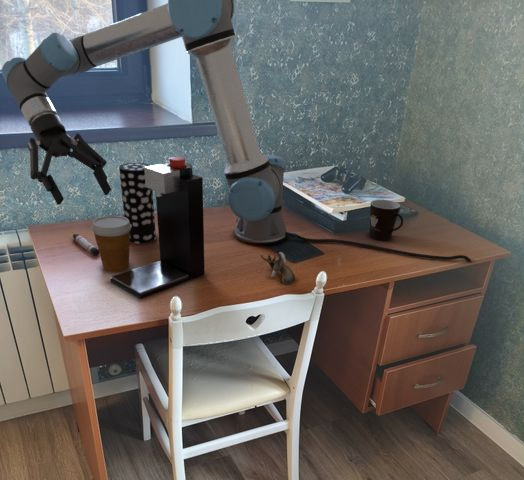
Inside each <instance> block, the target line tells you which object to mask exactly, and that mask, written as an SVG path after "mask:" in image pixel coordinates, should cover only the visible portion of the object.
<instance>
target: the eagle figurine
mask: <svg viewBox="0 0 524 480" xmlns="http://www.w3.org/2000/svg"><path fill="white" fill-rule="evenodd" d="M260 258H261V259H262V260H263V261H265V262H266V263H268V265H269V266H270V268H271V270H272V271H271V276H270V279H273V277H275V276H276V274H277V273H280V275H281V282H282V284H285V285H292V284H293V283H294V282H295V281H296V275H295V273H294V272H293V270H292V269H291V268H290V267H289V266H287V264H285V263H286V262H287V260H286V255H285V253H283V251H279V252H278V256H277V257H276V254H273V258H272V257H271V254H269V255H267V258H266V257H264V256H263V255H262V254H261V255H260ZM277 258H278V259H277Z"/></svg>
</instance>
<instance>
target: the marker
mask: <svg viewBox="0 0 524 480" xmlns="http://www.w3.org/2000/svg"><path fill="white" fill-rule="evenodd" d="M72 238H73V240H74V241H75V242H76V243H77V244H79V245H80V246H81V247H82V248H84V249H85V250H86V251H87V252H89V253H90V254H91V255H93V256H94V257H98V256H100V253H99V250H98V247H96V246H95V245H93V244H92V243H91V242H90V241H88V240H87V239H86V238H84V237H83V236H82V235H80V234H79V233H73V234H72Z"/></svg>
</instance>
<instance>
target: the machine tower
mask: <svg viewBox="0 0 524 480" xmlns="http://www.w3.org/2000/svg"><path fill="white" fill-rule="evenodd" d="M185 164H186V167H183V168H174V169H177V170H180V191H176V192H172V193H168V194H164V196H162V197H157V196H155V204H156V215H157V217H156V218H157V231H158V246H159V247H158V248H159V261H161V262H163V263H165V264H167V265H169V266H171V267H173V268H175V269H177V270H179V271H182V272H184V273H186V274H188V276H190V277H191V280H190V281H192V280H195V279H198V278H201V277H203V276H205V275H206V274H205V273H206V272H205V234H204V233H205V231H204V230H205V229H204V224H205V223H204V183H203V181H204V180H203V179H204V178H203V177H202V176H199V175H196V174H193V173H194V171H193V165H192V164H191V163H189V162H185ZM163 165H164V166H167V167H168V168H169V167H170V164H169V162H166V163H164V164H163ZM171 168H172V167H171Z"/></svg>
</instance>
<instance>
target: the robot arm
mask: <svg viewBox="0 0 524 480" xmlns="http://www.w3.org/2000/svg"><path fill="white" fill-rule="evenodd" d="M234 13H235V2H234V0H167V3H165V4H162V5H159V6H157V7H155V8H152V9H149V10H145V11H144V12H140V13H138V14H136V15H133V16H130V17H128V18H125V19H123V20H121V21H120V20H119V21H117V22H114V23H112V24H109V25H106V26H104V27H100V28H98V29H96V30H94V31H91V32H88V33H85V34H83V35H80V36H77V37H74V38H71V39H68V38H67V37H66V36H64V35H63V34H60V33H59V32H52V33H51V34H50V35H48V36H47V37H46V38H44V39H43V40H42V41H41V43H40V44H39V45H38V46H37V47H36V48H35V50H33V52H32V53H31V54H30V55H29V56H28V57H27V58H25V57H20V56H19V57H17V56H16V57H13V58H11V59H10V60H7V61H6V62H4V64H3V65H2V68H1V75H2V77H3V80H4V82H5V84H6V87H7V90H9V92H10V94H11V95H12V96H13V98H14V100H15V102H16V103H17V105H18V107H19V110H20V111H21V113H22V115H23V117H24V119H25V121H26V122H27V124H28V126H29V127H30V130H31V132H32V134H33V136H34V137H30V138H29V141H28V142H27V148H28V149H27V150H28V151H29V164H30V165H29V166H30V167H29V168H30V172H29V173H30V174H29V175H30V179H31V180H37V181H38V182H39V183H41V184H42V185H43V187H44V189H45V191H46V192H49V193H50V194H51V195H52V197H53V199H54V201H55V203H56V205H57V206H60V205H61V204H62V203H63V201H64V200H65V199H64V198H65V197H64V196H63V194H62V192H61V190H60V188H59V186H58V185H57V183H56V182H55V180H54V177H53V176H52V174H48V173H49V168H50V165H51V162H52V158H53V157H54V158H55V159H56V158H60V157H67V156H68V157H70V158H74V159H75V160H77V161H78V162H80V163H81V164H83V165H84V166H86V167H88V168H89V169H90V170H92V171H93V172H92V174H93V176H94V179H95V181H97V183H98V185H99V187H100V189H101V191H102V193H103V195H104V196H108V195H109V194H110V192H111V191H112V187H111V186H110V184H109V182H108V176H107V174H106V172H105V170H104V167H106V164H107V160H106V159H105V158H104V157H102V155H101V154H99V153H98V152H97V151H96V150H95V149H94V148H93V147H91V145H89V143H87V142H86V141H85V140H84V138H83V137H82V136H81V134H80V133H77V132H76V133H75V135H74V136H73V135H72V136H70V135H69V134H68V133H67V131H66V127H65V125H64V123H63V121H62V119H61V117H60V116H59V115H58V112H57V110H56V109H55V107H54V104H53V102H52V101H51V100H50V98H49V96H48V93H47V91H48V90H49V89H51V87H52V86H53V85H54V84H55V83H56V82H58V80H59V79H61V78H62V77H67V76H71V75H75V74H82V73H83V74H84V73H87V72H89V71H90V70H92V69H94V68H97V67H100V66H103V65H106V64H108V63H111V62H114V61H116V60H119V59H123V58H126V57H128V56H130V55H131V56H132V55H134V54H136V53H139V52H143V51H145V50H148V49H152V48H154V47H157V46H159V45H163V44H166V43H168V42H171V41H174V40H177V39H180V38H182V41H183V44H184V48H185V51H186V53H187V54H188V55H190V56H191V57H193V58H194V59H195V61H196V65H197V67H198V70H199V74H200V77H201V81H202V85H203V88H204V90H205V94H206V97H207V101H208V104H209V107H210V110H211V114H212V116H213V120H214V123H215V127H216V130H217V133H218V137H219V140H220V143H221V146H222V150H223V152H224V156H225V159H226V163H227V164H226V166H225V168H224V170H223V172H224V177H225V179H226V183H227V186H228V189H229V190H228V192H227V202H228V206H229V208H230V210H231V211H232V213H233V214H234V215H235V216H236V217H237V218H236V221H235V225H234V238H235V239H237V240H238V241H239V242H242V243H245V244H248V245H253V246H271V245H277V244H280V243H282V242H284V241H285V240H286V239H287V236H288V237H291V238H295V237H297V238H296V239H298V240H301V241H304V242H309V243H337V244H345V245H346V244H347V245H353V246H358V247H364V248H368V249H374V250H379V251H384V252H388V253H393V254H399V255H404V256H409V257H416V258H417V257H418V258H423V259H431V260H432V259H434V260H444V261H451V260H459V259H463V260H466V262H468V263H472V260H471V258H470V257H468V256H466V255H464V254H457V255H452V256H444V255H443V256H442V255H433V254H432V255H431V254H423V253H422V254H421V253H416V252H410V251H404V250H399V249H393V248H388V247H383V246H378V245H374V244H369V243H363V242H359V241H358V242H357V241H351V240H345V239H334V238H310V237H305V236H302V235H298V234H294V233H291V232H287V227H286V223H285V219H284V216H283V211H282V209H283V193H284V174H285V170H286V167H285V160H284V158H283V157H281V156H278V155H273V154H263V153H262V152H261V150H260V146H259V143H258V138H257V135H256V132H255V128H254V124H253V121H252V118H251V113H250V109H249V106H248V103H247V98H246V96H245V91H244V88H243V85H242V80H241V77H240V73H239V70H238V69H239V68H238V65H237V63H236V59H235V55H234V52H233V51H234V50H233V48H232V47H233V44H234V41H235V39H236V33H235V29H234V26H233V22H232V20H233V17H234ZM39 149H42V150H43V151H44V152H45V155H44V159H43V163H42V165H41V169H40V170H39ZM71 150H72V151H71ZM284 237H285V238H284Z"/></svg>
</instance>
